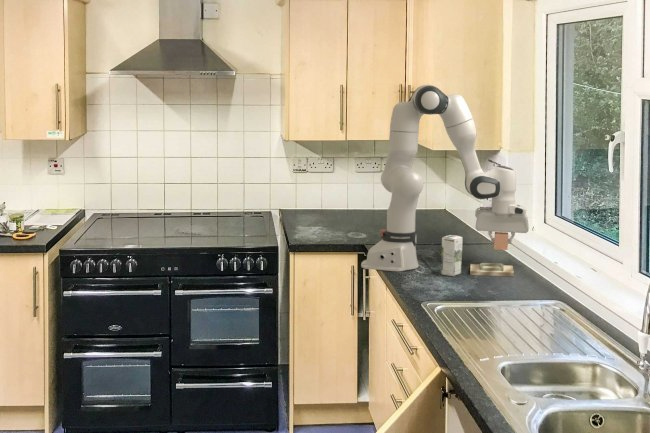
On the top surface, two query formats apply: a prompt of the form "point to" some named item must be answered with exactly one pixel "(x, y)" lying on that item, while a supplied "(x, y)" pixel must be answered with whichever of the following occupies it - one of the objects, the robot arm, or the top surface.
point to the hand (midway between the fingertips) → (501, 243)
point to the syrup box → (451, 255)
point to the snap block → (501, 241)
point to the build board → (491, 269)
